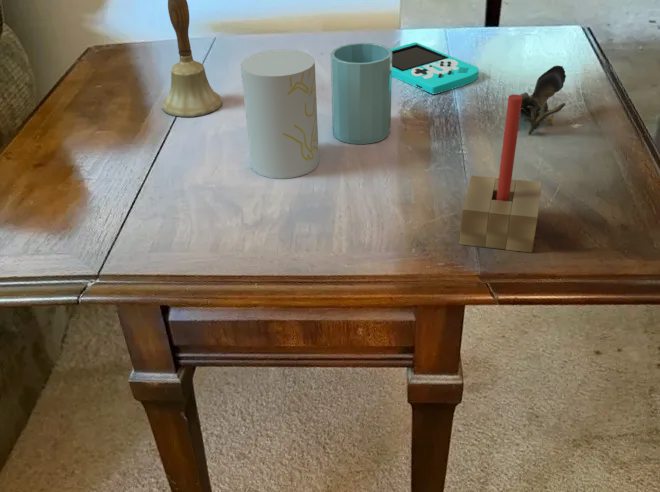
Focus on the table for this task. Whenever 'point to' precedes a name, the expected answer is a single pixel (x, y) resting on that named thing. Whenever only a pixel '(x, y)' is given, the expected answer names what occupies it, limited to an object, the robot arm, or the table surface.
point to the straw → (509, 147)
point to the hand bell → (187, 73)
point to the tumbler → (361, 92)
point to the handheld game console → (430, 68)
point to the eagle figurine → (543, 97)
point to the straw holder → (500, 215)
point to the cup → (281, 112)
